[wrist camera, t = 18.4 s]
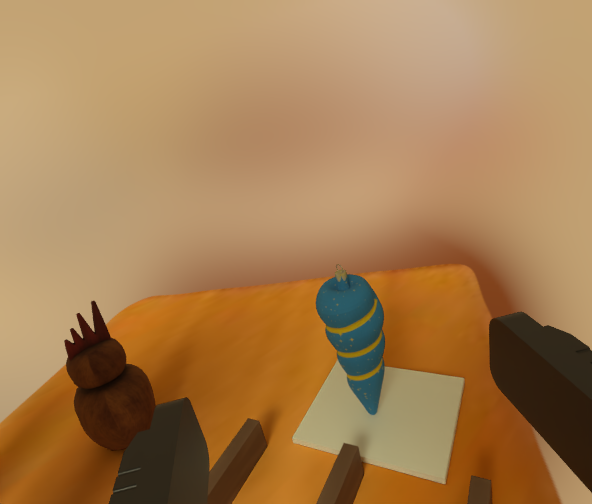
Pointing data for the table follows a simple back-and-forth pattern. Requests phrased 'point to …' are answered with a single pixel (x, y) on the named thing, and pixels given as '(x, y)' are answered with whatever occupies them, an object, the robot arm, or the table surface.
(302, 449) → the table surface
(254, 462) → the lane rack
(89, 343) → the wooden figurine
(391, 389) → the pad
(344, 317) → the ornament
